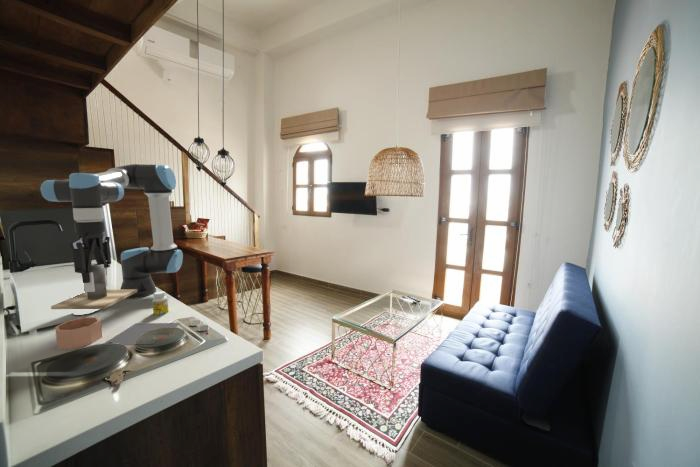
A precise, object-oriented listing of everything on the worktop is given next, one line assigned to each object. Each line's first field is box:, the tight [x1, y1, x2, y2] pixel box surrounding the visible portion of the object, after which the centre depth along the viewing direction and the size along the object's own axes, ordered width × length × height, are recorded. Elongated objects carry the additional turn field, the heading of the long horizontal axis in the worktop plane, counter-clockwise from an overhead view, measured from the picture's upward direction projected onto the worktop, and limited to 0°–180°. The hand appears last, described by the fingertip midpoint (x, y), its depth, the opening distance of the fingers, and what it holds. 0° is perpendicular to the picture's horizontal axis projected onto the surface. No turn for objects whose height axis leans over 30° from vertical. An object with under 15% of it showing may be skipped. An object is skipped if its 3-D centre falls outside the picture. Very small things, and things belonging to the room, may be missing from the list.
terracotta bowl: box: [54, 316, 103, 350], centre depth 101 cm, size 11×11×7 cm
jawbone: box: [104, 366, 131, 387], centre depth 88 cm, size 9×20×2 cm, turn 168°
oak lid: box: [50, 263, 137, 310], centre depth 101 cm, size 16×16×12 cm
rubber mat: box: [104, 322, 181, 346], centre depth 107 cm, size 17×17×1 cm
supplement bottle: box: [152, 290, 169, 316], centre depth 125 cm, size 5×5×10 cm
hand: (96, 288), depth 101 cm, fingers closed on oak lid, 5 cm apart
